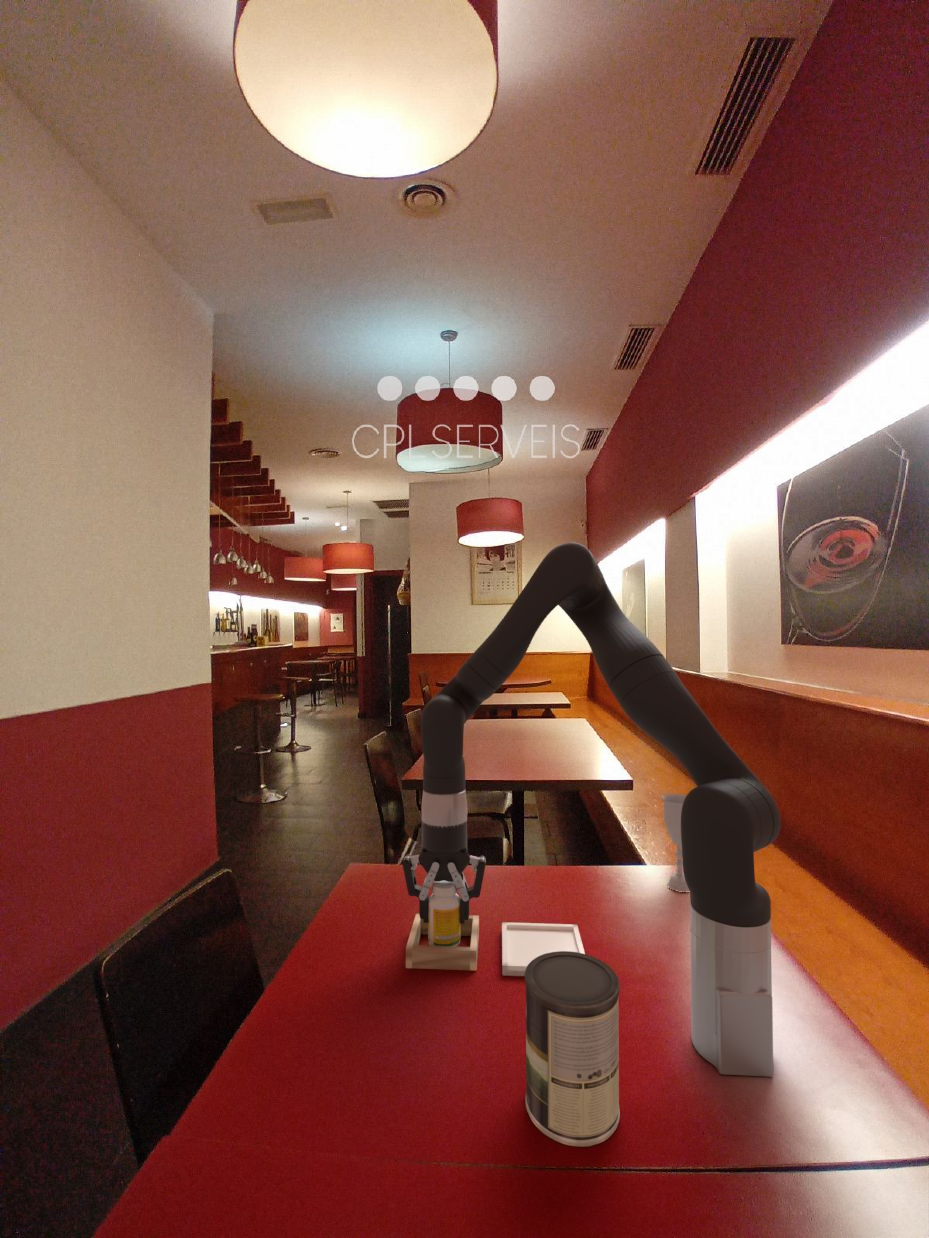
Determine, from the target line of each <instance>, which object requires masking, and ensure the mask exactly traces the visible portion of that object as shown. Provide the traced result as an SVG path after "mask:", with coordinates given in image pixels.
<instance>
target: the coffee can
mask: <svg viewBox="0 0 929 1238" xmlns="http://www.w3.org/2000/svg"><path fill="white" fill-rule="evenodd" d="M524 982H525V1029H526V1030H525V1042H526V1043H525V1051H526V1052H525V1055H526V1056H525V1057H526V1058H525V1075H526V1076H525V1081H526V1083H525V1084H526V1085H525V1108H526V1112H527V1113H528V1116H529V1119H530V1120H531V1122H532V1123H533V1125H535V1127H536V1128H537V1129H538V1130H539V1131H540V1132H541V1133H542V1134H543V1135H545V1136H546V1137H548V1138H549V1139H551V1140H552V1141H555V1142H557V1143H559V1144H563V1145H566V1146H571V1147H577V1148H578V1147H581V1148H582V1147H583V1148H585V1147H592V1146H594V1145H595V1146H596V1145H598V1144H601V1143H603V1142H605V1141H606V1140H609V1138H610V1137H611V1136H612V1135H614V1132H615V1131H616V1129H617V1128H618V1125H619V1123H620V1117H621V1113H620V1111H621V1110H620V1103H619V1101H620V1090H619V1088H620V1087H619V1086H620V1083H619V1082H620V1077H619V1076H620V1075H619V1071H620V1069H619V1065H620V1064H619V1063H620V1062H619V1060H620V1057H619V1055H620V1054H619V1053H620V1051H619V1050H620V1048H619V1046H620V1045H619V1041H620V1040H619V1039H620V1038H619V1031H620V1030H619V1028H620V1027H619V1017H620V1016H619V995H620V992H621V991H620V987H621V986H620V985H621V984H620V979H619V976H618V975H617V973H616V971H614V969H613V968H611V966H610V965H608V964H607V962H604V961H602V960H600V959H599V958H597V957H595V956H592V955H589V954H586V953H585V954H582V953H578V952H570V951H559V952H551V953H546V954H543V955H540V956H538V957H536V958H535V959H533V960H532V961H531V962H530V963H529V964H528V966H527V967H526V970H525V976H524Z"/></svg>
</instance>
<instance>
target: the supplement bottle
mask: <svg viewBox="0 0 929 1238" xmlns="http://www.w3.org/2000/svg"><path fill="white" fill-rule="evenodd" d="M431 888H432V894H431V895H429V900H428V934H427V941H428V944H429V945H428V946H453V947H459V944H461V939H462V938H461V937H462V936H461V924H460V900H461V896H459V895H460V894H457V892H458V889H457V888H456V885H455V883H454V882H448V881H445V880H443V881H435V880H434V881H433V883H432V886H431Z"/></svg>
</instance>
